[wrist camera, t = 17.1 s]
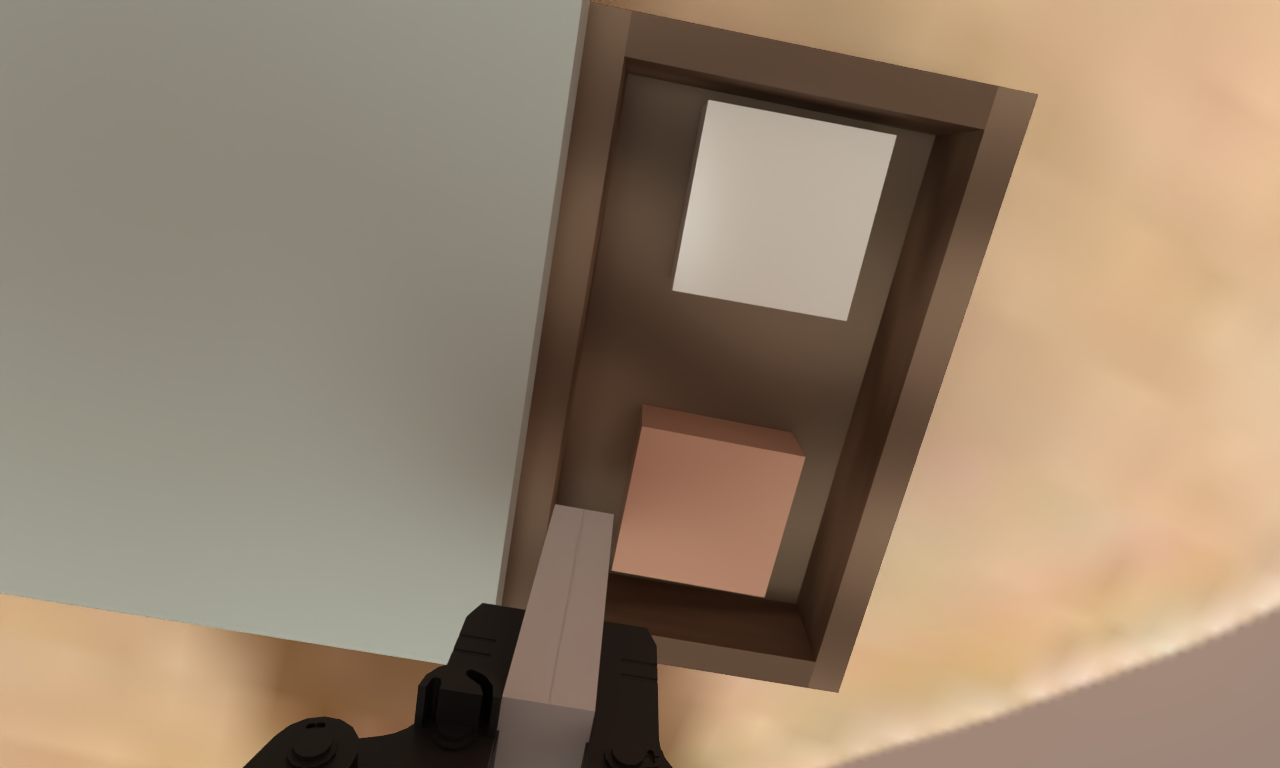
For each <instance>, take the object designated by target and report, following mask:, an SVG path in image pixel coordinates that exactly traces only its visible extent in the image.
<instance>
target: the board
mask: <svg viewBox="0 0 1280 768" xmlns="http://www.w3.org/2000/svg"><path fill="white" fill-rule="evenodd" d="M589 5H590V0H0V593H1V594H7V595H13V596H19V597H26V598H32V599H38V600H44V601H51V602H57V603H63V604H70V605H76V606H82V607H88V608H95V609H101V610H107V611H113V612H120V613H126V614H132V615H138V616H145V617H151V618H157V619H163V620H170V621H176V622H182V623H189V624H195V625H201V626H207V627H214V628H220V629H226V630H232V631H239V632H245V633H251V634H257V635H264V636H270V637H276V638H282V639H289V640H295V641H301V642H308V643H314V644H320V645H326V646H333V647H339V648H345V649H351V650H358V651H364V652H370V653H376V654H383V655H389V656H395V657H401V658H408V659H414V660H420V661H427V662H433V663H439V664H445V665H447V663H448V661H449V658H450V656H451V653H452V652H453V649H454V646H455V643H456V641H457V639H458V638H459V634H460V631H461V629H462V626H463V624H464V621H465V619H466V616H468V615H469V614H470V613H471V612H472V611H473V610H475V609H476V608H477V607H478V606H479V605H480V604H481V603H487V604H493V605H499V606H501V604H502V597H503V591H504V584H505V577H506V570H507V563H508V557H509V550H510V543H511V536H512V529H513V523H514V516H515V509H516V502H517V495H518V489H519V482H520V475H521V468H522V461H523V455H524V448H525V441H526V434H527V427H528V421H529V414H530V407H531V400H532V393H533V387H534V380H535V373H536V366H537V359H538V353H539V346H540V339H541V332H542V325H543V319H544V312H545V305H546V298H547V291H548V284H549V278H550V271H551V264H552V257H553V250H554V244H555V237H556V230H557V223H558V216H559V210H560V203H561V196H562V189H563V182H564V176H565V169H566V162H567V155H568V148H569V142H570V135H571V128H572V121H573V114H574V108H575V101H576V94H577V87H578V80H579V74H580V67H581V60H582V53H583V46H584V40H585V33H586V26H587V19H588V12H589Z"/></svg>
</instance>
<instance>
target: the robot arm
mask: <svg viewBox="0 0 1280 768" xmlns="http://www.w3.org/2000/svg"><path fill="white" fill-rule="evenodd" d="M613 518H614V514H609V513H603V512H598V511H592V510H586V509H580V508H574V507H568V506H563V505H557V504H555V506H554V510H553V513H552V517H551V521H550V524H549V528H548V532H547V535H546V539H545V543H544V546H543V550H542V553H541V557H540V561H539V564H538V568H537V572H536V575H535V579H534V583H533V586H532V590H531V593H530V597H529V601H528V604H527V608H526V610H524V609H518V608H512V607H505V606H499V605H493V604H487V603H481V604H480V605H479V606H478V607H477V608H476V609H475V610H473V611H472V612H471V613H470V614H469V615H468V616H466V619H465V621H464V624H463V626H462V629H461V631H460V634H459V638H458V639H457V641H456V643H455V646H454V649H453V652H452V653H451V656H450V658H449V661H448V663H447V665H444V666H441V667H438V668H436V669H435V670H433V671H432V672H430V673H428V674H427V675H426V676H425V677H424V679H423V680H422V681H421V683H420V684H419V685H418V694H417V703H416V713H415V722H414V724H413V725H411V726H410V727H408V728H406V729H404V730H402V731H399V732H397V733H393V734H388V735H384V736H377V737H368V738H360V739H359V738H358V736H357V734H356V732H355V730H354V729H353V727H352V726H350V725H349V724H347V723H345V722H344V721H342V720H340V719H335V718H330V717H316V718H307V719H305V720H302V721H299V722H297V723H294V724H292V725H289V726H288V727H287V728H285V729H284V730H283V731H281V732H280V733H278V734H277V735H276V736H275V737H274V738H273V739H272V740H271V741H269V742H268V743H267V744H266V745H265V746H264V747H263V748H262V749H261V750H260V751H259V752H258V753H257V754H256V755H255V756H254V757H253V758H252V759H251V760H250V761H249V762H248V763H247V764H246V765H245V766H244V767H243V768H672V766H671V765H670V764H669V763H668V761H667V760H666V759H665V757H664V755H663V752H662V750H661V748H660V743H659V725H658V683H657V645H656V643H655V642H654V640H653V638H652V636H651V635H650V633H649V631H648V629H647V628H643V627H637V626H631V625H625V624H619V623H613V622H607V621H604V612H605V602H606V591H607V581H608V570H609V560H610V549H611V539H612V528H613Z"/></svg>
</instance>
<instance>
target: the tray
mask: <svg viewBox="0 0 1280 768" xmlns="http://www.w3.org/2000/svg"><path fill="white" fill-rule="evenodd" d="M1037 97H1038V94H1034V93H1029V92H1024V91H1019V90H1014V89H1009V88H1005V87H1000V86H995V85H990V84H985V83H980V82H976V81H971V80H966V79H961V78H956V77H951V76H947V75H942V74H937V73H932V72H927V71H922V70H918V69H913V68H908V67H903V66H898V65H893V64H888V63H884V62H879V61H874V60H869V59H864V58H859V57H855V56H850V55H845V54H840V53H835V52H830V51H826V50H821V49H816V48H811V47H806V46H801V45H796V44H792V43H787V42H782V41H777V40H772V39H767V38H763V37H758V36H753V35H748V34H743V33H738V32H734V31H729V30H724V29H719V28H714V27H709V26H704V25H700V24H695V23H690V22H685V21H680V20H675V19H671V18H666V17H661V16H656V15H651V14H646V13H642V12H637V11H632V10H627V9H622V8H617V7H613V6H608V5H603V4H598V3H593V2H590V5H589V12H588V19H587V26H586V33H585V40H584V46H583V53H582V60H581V67H580V74H579V80H578V87H577V94H576V101H575V108H574V114H573V121H572V128H571V135H570V142H569V148H568V155H567V162H566V169H565V176H564V182H563V189H562V196H561V203H560V210H559V216H558V223H557V230H556V237H555V244H554V250H553V257H552V264H551V271H550V278H549V284H548V291H547V298H546V305H545V312H544V319H543V325H542V332H541V339H540V346H539V353H538V359H537V366H536V373H535V380H534V387H533V393H532V400H531V407H530V414H529V421H528V427H527V434H526V441H525V448H524V455H523V461H522V468H521V475H520V482H519V489H518V495H517V502H516V509H515V516H514V523H513V529H512V536H511V543H510V550H509V557H508V563H507V570H506V577H505V584H504V591H503V597H502V604H501V606H505V607H512V608H518V609H524V610H526V608H527V604H528V601H529V597H530V593H531V590H532V586H533V583H534V579H535V575H536V572H537V568H538V564H539V561H540V557H541V553H542V550H543V546H544V543H545V539H546V535H547V532H548V528H549V524H550V521H551V517H552V513H553V510H554V506H555V504H557V505H563V506H568V507H574V508H580V509H586V510H592V511H598V512H603V513H609V514H614V518H613V528H612V539H611V549H610V560H609V570H608V581H607V591H606V602H605V612H604V621H607V622H613V623H619V624H625V625H631V626H637V627H643V628H647V629H648V631H649V633H650V635H651V636H652V638H653V640H654V642H655V643H656V645H657V663H658V664H664V665H670V666H676V667H682V668H689V669H695V670H701V671H707V672H713V673H719V674H726V675H732V676H738V677H744V678H750V679H756V680H763V681H769V682H775V683H781V684H787V685H794V686H800V687H806V688H812V689H818V690H824V691H831V692H837V693H838V692H839V689H840V686H841V683H842V680H843V677H844V674H845V671H846V668H847V665H848V662H849V659H850V656H851V653H852V650H853V647H854V644H855V641H856V638H857V635H858V632H859V629H860V626H861V623H862V620H863V617H864V614H865V611H866V608H867V605H868V602H869V599H870V596H871V593H872V590H873V587H874V584H875V581H876V578H877V575H878V572H879V569H880V566H881V563H882V560H883V557H884V554H885V551H886V548H887V545H888V542H889V539H890V536H891V533H892V530H893V527H894V524H895V521H896V518H897V515H898V512H899V509H900V506H901V503H902V500H903V497H904V494H905V491H906V488H907V485H908V482H909V479H910V476H911V473H912V470H913V467H914V464H915V461H916V458H917V455H918V452H919V449H920V446H921V443H922V440H923V438H924V435H925V432H926V429H927V426H928V423H929V420H930V417H931V414H932V411H933V408H934V405H935V402H936V399H937V396H938V393H939V390H940V387H941V384H942V381H943V378H944V375H945V372H946V369H947V366H948V363H949V360H950V357H951V354H952V351H953V348H954V345H955V342H956V339H957V336H958V333H959V330H960V327H961V324H962V321H963V318H964V315H965V312H966V309H967V306H968V303H969V300H970V297H971V294H972V291H973V288H974V285H975V282H976V279H977V276H978V273H979V270H980V267H981V264H982V261H983V258H984V255H985V252H986V249H987V246H988V243H989V240H990V237H991V234H992V231H993V228H994V225H995V222H996V219H997V216H998V213H999V210H1000V207H1001V204H1002V201H1003V198H1004V195H1005V192H1006V189H1007V186H1008V183H1009V180H1010V177H1011V174H1012V171H1013V168H1014V165H1015V162H1016V159H1017V156H1018V153H1019V150H1020V147H1021V144H1022V141H1023V138H1024V135H1025V132H1026V129H1027V126H1028V123H1029V120H1030V118H1031V115H1032V112H1033V109H1034V106H1035V103H1036V100H1037ZM708 100H712V101H717V102H723V103H728V104H733V105H739V106H744V107H749V108H755V109H760V110H765V111H770V112H776V113H781V114H786V115H792V116H797V117H802V118H807V119H813V120H818V121H823V122H829V123H834V124H839V125H845V126H850V127H855V128H860V129H866V130H871V131H876V132H882V133H887V134H892V135H897V136H896V140H895V144H894V148H893V151H892V155H891V159H890V162H889V166H888V170H887V173H886V177H885V181H884V185H883V188H882V192H881V196H880V199H879V203H878V207H877V210H876V214H875V218H874V221H873V225H872V229H871V233H870V236H869V240H868V244H867V247H866V251H865V255H864V258H863V262H862V266H861V269H860V273H859V277H858V281H857V284H856V288H855V292H854V295H853V299H852V303H851V306H850V310H849V314H848V318H847V321H843V320H837V319H832V318H826V317H820V316H815V315H809V314H803V313H798V312H792V311H786V310H781V309H775V308H769V307H764V306H758V305H752V304H747V303H741V302H735V301H730V300H724V299H718V298H713V297H707V296H701V295H696V294H690V293H684V292H679V291H673V290H672V287H671V282H670V276H671V271H672V265H673V260H674V255H675V249H676V244H677V239H678V234H679V228H680V223H681V218H682V212H683V207H684V202H685V196H686V191H687V186H688V180H689V175H690V170H691V164H692V159H693V154H694V149H695V143H696V138H697V133H698V127H699V122H700V117H701V111H702V107H703V105H704V104H705V103H706V102H707V101H708ZM642 404H644V405H649V406H654V407H659V408H665V409H670V410H675V411H681V412H686V413H691V414H696V415H702V416H707V417H712V418H718V419H723V420H728V421H733V422H739V423H744V424H749V425H755V426H760V427H765V428H770V429H776V430H781V431H786V432H792V433H793V435H794V437H795V439H796V441H797V443H798V444H799V446H800V448H801V450H802V452H803V453H804V455H805V461H804V464H803V467H802V471H801V474H800V478H799V481H798V484H797V488H796V491H795V495H794V498H793V502H792V505H791V508H790V512H789V515H788V519H787V522H786V525H785V529H784V532H783V536H782V539H781V543H780V546H779V549H778V553H777V556H776V560H775V563H774V567H773V570H772V573H771V577H770V580H769V584H768V587H767V590H766V594H765V597H758V596H753V595H747V594H741V593H736V592H730V591H724V590H719V589H713V588H707V587H702V586H696V585H690V584H685V583H679V582H673V581H668V580H662V579H656V578H651V577H645V576H639V575H634V574H628V573H622V572H617V571H612V560H613V549H614V538H615V533H616V528H617V524H618V519H619V514H620V509H621V505H622V500H623V495H624V490H625V485H626V481H627V476H628V471H629V466H630V462H631V457H632V452H633V447H634V442H635V438H636V433H637V428H638V423H639V419H640V414H641V409H642Z"/></svg>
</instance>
